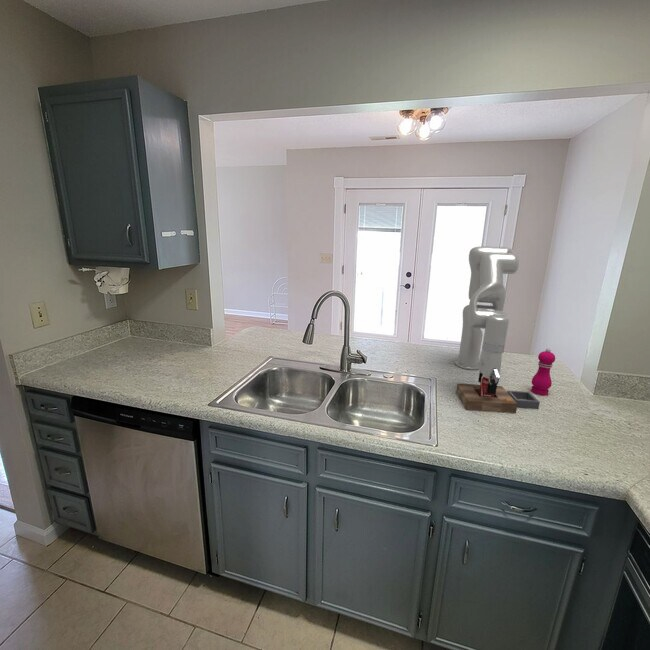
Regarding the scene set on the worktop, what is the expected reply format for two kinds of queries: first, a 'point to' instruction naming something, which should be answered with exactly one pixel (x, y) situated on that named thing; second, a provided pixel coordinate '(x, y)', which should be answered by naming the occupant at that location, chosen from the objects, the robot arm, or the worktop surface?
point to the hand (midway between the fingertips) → (486, 387)
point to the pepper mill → (543, 373)
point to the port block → (485, 399)
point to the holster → (528, 403)
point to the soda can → (484, 387)
